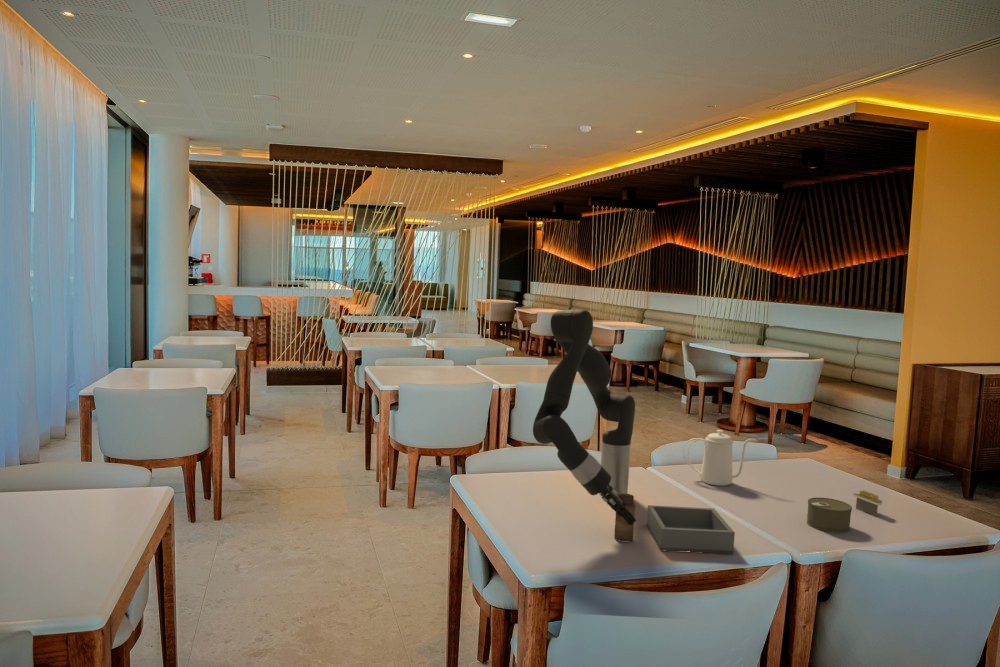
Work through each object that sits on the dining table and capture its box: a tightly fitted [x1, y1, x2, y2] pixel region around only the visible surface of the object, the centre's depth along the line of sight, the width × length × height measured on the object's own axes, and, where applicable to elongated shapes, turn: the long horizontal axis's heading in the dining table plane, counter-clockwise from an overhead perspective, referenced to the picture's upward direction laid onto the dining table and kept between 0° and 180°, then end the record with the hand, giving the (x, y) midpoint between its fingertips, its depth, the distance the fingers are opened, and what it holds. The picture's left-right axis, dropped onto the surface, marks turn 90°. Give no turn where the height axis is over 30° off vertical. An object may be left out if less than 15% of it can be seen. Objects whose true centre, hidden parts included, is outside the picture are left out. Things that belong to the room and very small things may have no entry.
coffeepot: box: [682, 429, 759, 487], centre depth 255 cm, size 11×25×19 cm, turn 71°
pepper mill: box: [613, 493, 636, 542], centre depth 196 cm, size 5×5×12 cm
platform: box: [852, 490, 883, 518], centre depth 230 cm, size 12×18×7 cm, turn 21°
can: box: [806, 497, 853, 534], centre depth 215 cm, size 12×12×7 cm
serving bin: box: [646, 504, 736, 555], centre depth 198 cm, size 19×19×6 cm
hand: (631, 518), depth 196 cm, fingers closed on pepper mill, 5 cm apart
